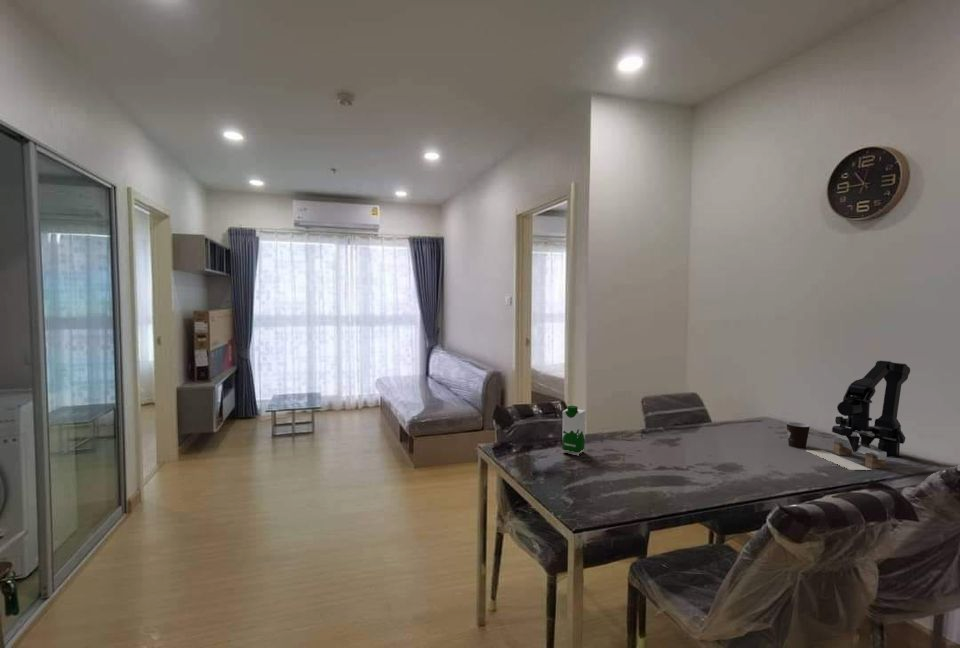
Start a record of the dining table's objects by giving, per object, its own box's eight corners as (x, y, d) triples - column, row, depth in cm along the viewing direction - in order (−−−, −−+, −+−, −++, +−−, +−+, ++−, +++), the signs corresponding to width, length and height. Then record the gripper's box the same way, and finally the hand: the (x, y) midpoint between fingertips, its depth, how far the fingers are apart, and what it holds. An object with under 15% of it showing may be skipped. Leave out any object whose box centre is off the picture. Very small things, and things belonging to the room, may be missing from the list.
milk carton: (559, 453, 191) (560, 406, 190) (567, 448, 199) (568, 402, 198) (579, 457, 186) (580, 409, 186) (587, 452, 194) (588, 405, 193)
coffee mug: (808, 450, 200) (809, 427, 200) (785, 446, 206) (785, 424, 205) (809, 444, 210) (810, 422, 209) (786, 441, 215) (787, 419, 215)
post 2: (878, 465, 181) (879, 452, 181) (885, 468, 178) (886, 455, 178) (865, 465, 181) (865, 452, 181) (871, 468, 178) (872, 455, 178)
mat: (823, 451, 200) (823, 450, 200) (871, 470, 176) (871, 469, 176) (805, 451, 200) (805, 450, 200) (850, 470, 176) (850, 469, 176)
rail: (840, 442, 199) (841, 436, 199) (886, 459, 177) (886, 452, 177) (833, 442, 199) (834, 436, 199) (878, 459, 177) (878, 451, 177)
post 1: (846, 453, 197) (846, 441, 197) (851, 455, 194) (852, 443, 194) (833, 453, 197) (833, 441, 197) (839, 455, 194) (839, 443, 194)
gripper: (865, 409, 195) (864, 446, 196) (822, 409, 195) (821, 445, 196) (889, 416, 184) (887, 454, 185) (843, 415, 184) (842, 453, 185)
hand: (858, 451), depth 188 cm, fingers closed on rail, 3 cm apart
